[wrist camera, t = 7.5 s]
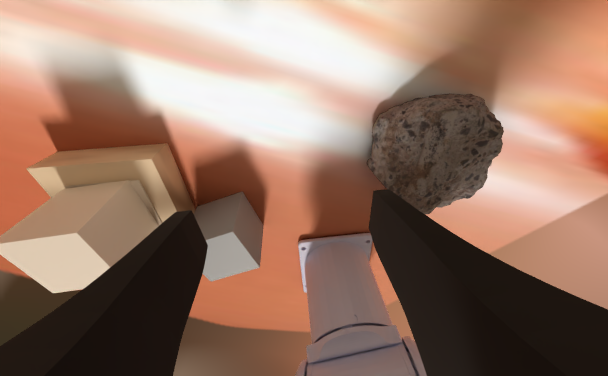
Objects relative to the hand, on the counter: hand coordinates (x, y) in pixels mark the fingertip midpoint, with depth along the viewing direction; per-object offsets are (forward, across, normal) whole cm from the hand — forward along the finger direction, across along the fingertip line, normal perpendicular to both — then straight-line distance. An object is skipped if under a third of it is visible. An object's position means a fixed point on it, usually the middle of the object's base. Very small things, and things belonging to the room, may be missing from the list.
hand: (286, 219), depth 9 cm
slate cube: (+10, +6, +8) cm, 14 cm away
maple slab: (+10, +13, +4) cm, 17 cm away
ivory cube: (+7, +13, +4) cm, 15 cm away
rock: (+10, -12, +3) cm, 16 cm away
